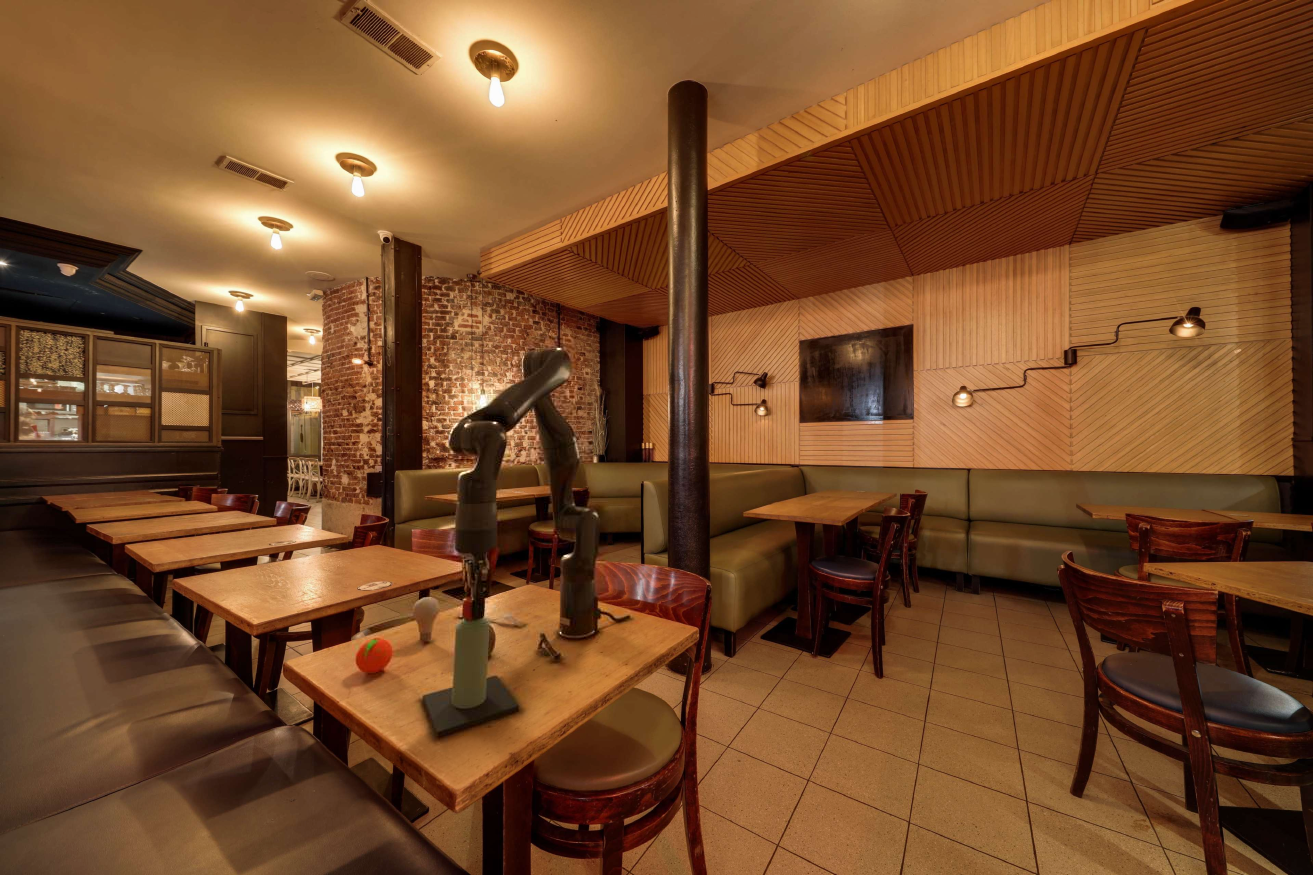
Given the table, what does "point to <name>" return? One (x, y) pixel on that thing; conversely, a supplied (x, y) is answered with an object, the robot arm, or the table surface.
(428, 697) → the coaster
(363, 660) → the clementine
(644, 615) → the table surface
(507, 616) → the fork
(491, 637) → the vase
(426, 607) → the lightbulb
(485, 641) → the bottle
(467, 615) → the cap
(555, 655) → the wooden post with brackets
